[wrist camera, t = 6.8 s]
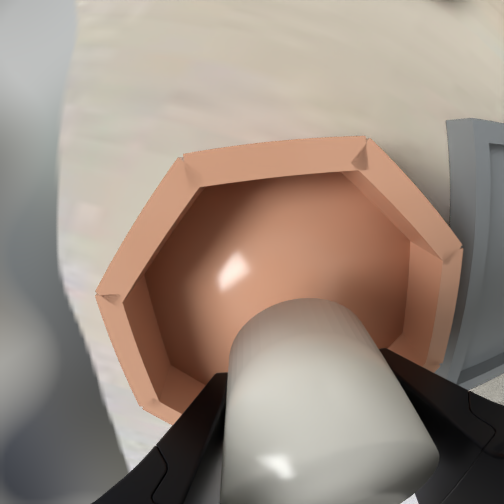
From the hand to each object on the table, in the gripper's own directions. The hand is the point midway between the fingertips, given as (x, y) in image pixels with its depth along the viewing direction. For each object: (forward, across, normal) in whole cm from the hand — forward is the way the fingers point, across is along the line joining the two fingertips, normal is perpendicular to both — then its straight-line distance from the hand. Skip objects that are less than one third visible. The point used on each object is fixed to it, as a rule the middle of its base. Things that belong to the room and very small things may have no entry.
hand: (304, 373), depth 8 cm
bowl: (+5, 0, 0) cm, 5 cm away
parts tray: (+5, -16, 0) cm, 17 cm away
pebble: (0, 0, 0) cm, 1 cm away
